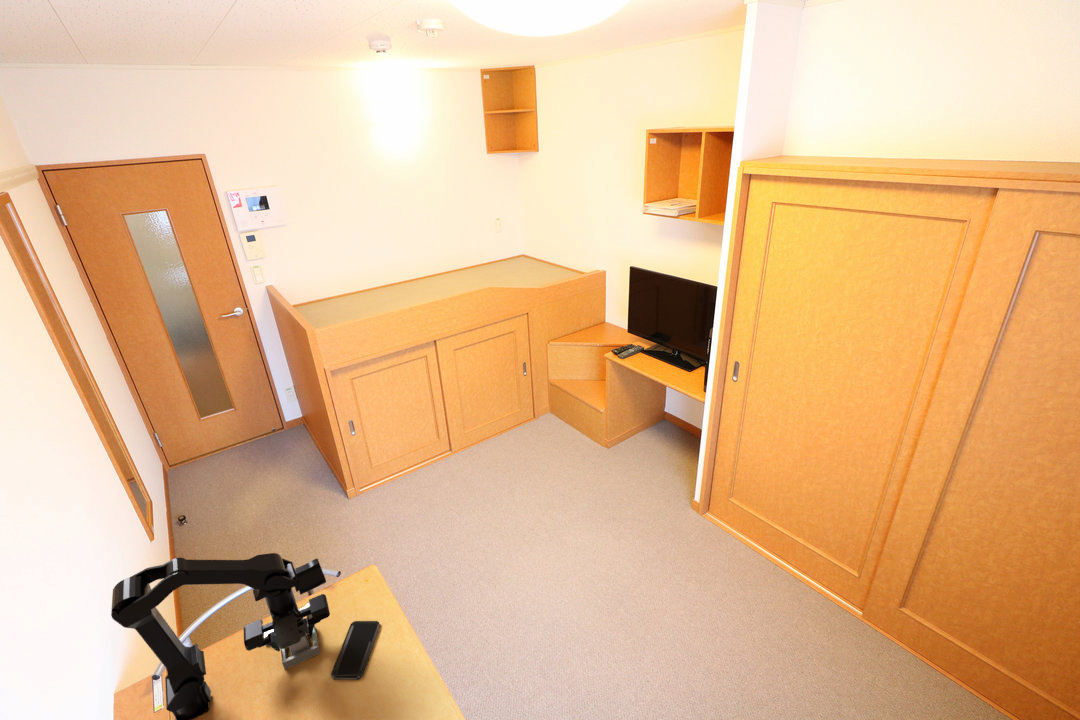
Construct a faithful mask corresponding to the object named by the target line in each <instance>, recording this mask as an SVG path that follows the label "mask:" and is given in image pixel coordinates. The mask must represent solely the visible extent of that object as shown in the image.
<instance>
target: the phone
mask: <svg viewBox="0 0 1080 720" xmlns="http://www.w3.org/2000/svg"><path fill="white" fill-rule="evenodd" d="M380 627H381V624H380V622H379V621H377V620H354V621H353V622H351V623H350V625H349V628H348V630H347V633H346V635H345V638H344V640H343V643H342V645H341V647H340V650H339V653H338V656H337V658H336V660H335V663H334V665H333V669H332V670H331V674H330V676H331V679H333V680H335V681H337V680H339V681H340V680H341V681H342V680H343V681H345V680H346V681H347V680H348V681H349V680H351V681H354V680H355V681H359V680H361V679H362V678H363V677H364V675H365V672H366V669H367V667H368V665H369V664H368V663H369V661H370V656H371V653H372V650H373V648H374V646H375V645H374V644H375V642H376V640H377V636H378V633H379V630H380Z"/></svg>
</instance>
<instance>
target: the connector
mask: <svg viewBox="0 0 1080 720" xmlns="http://www.w3.org/2000/svg"><path fill="white" fill-rule="evenodd" d="M309 642H310V641H309V635H308V634H306V633H305V636H304V637H302V638H301V640H300V641H299V642H298V643H296V644H293V645H291V646H289V647H288V649H289V652H290V654H291V656H293V655H295V654H298V653H300V652H302V651H304V650H306V649H308V648H311V647H310V643H309Z"/></svg>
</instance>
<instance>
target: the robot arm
mask: <svg viewBox="0 0 1080 720" xmlns="http://www.w3.org/2000/svg"><path fill="white" fill-rule="evenodd" d="M157 580H160V581H159V582H157V584H156V585H154V587H153V588H152V587H151V584H152V583H153V582H156V581H157ZM326 583H327V580H326V577H325V574H324V571H323V568H322V567H321V564H320V561H319V558H315V559H312V560H311V561H309V562H307V563H305V564H302V565H301V566H298V567H296V568H295V566H294V563H293V561H290V560H288V559H285V558H283V557H281V555H280V554H278V553H276V552H271V553H270V552H269V553H264V554H257V555H254V556H253V557H251V558H249V559H247V558H246V559H186V558H184V557H175V558H173V559H171V560H169V561H167V562H165V563H163V564H159V565H154V566H149V567H146V568H144V569H143V570H141V571H139V572H137V573H135V574H133V575H132V576H130V577H127V578H124V579H122V580H120V581H119V582H117V584H115V586H114V587H113V589H112V596H111V597H112V598H111V612H110V613H111V614H110V615H111V619H112V620H114V621H115V622H116V623H117V624H119V625H120V626H122V627H123V628H126V629H132V630H133V629H134V630H135V631H136V632H137V634H138V635H139V636H140V637H141V638H142V639H143V641H144V642H145V643H146V645H147V646H148V647H149V649H150V650H151V651H152V652H153V654H154V655H155V657H156V658H157V659H159V662H161V664H162V666H164V667H165V669H166V672H167V674H166V676H165V678H164V681H165V682H164V683H165V685H164V686H165V701H166V702H165V705H166V706H165V708H166V711H169V713H170V712H171V713H172V715H173V716H174V718H175V720H194V719H196V718H198V717H201V716H202V715H205V714H206V713H208V712H209V710H210V702H211V700H212V699H211V696H212V691H211V689H210V685H209V686H208V683H207V682H206V681H205V675H207V670H206V663H205V662H206V661H205V659H206V658H205V652H204V651H203V650H201V649H200V648H199V645H198V644H197V643H194V644H192V646H186V645H184V644H183V643H182V641H181V640H180V638H179V637H178V635H177V634H176V633H175V631H174V630H173V628H171V626H170V624H169V623H168V622H167V621H166V619H165V618H164V617H163V615H162V614H161V613H160V611H159V610H158V608H157V607H158V606H159V605H160V604H161V603H162V602H163V601H164V600H165V599H166V598H168V597H169V596H170V595H171V594H172V593H173V592H174V591H175V590H177V589H178V588H181V587H182V586H194V585H195V586H197V585H203V586H205V585H206V586H207V585H237V584H238V585H244V586H246V587H249V588H251V589H252V593H253V597H254V601H255V602H259V601H261V600H263V599H265V602H266V603H265V604H266V606H267V607H268V610H269V613H270V616H271V619H272V622H268V623H266V624H264V622H263V618H259V619H258V620H255V621H253V622H250V623H248V624H246V625H244V627H243V644H244V647H245V650H246V651H249V652H250V651H252V650H254V649H256V648H259V649H260V648H262V647H265V646H269V647H270V648H272V649H274V650H275V651H277V652H281V649H285V648H286V649H287V648H289V646H291V645H293V644H296V643H298V642H299V641H300V640H301V638H302V637H304V636H305V633H306V632H309V633H308V638H309V639H311V638H312V633H313V628H314V625H316V624H319V623H321V622H322V621H323V620H325V619H328V618H329V617H330V615H331V613H330V606H329V603H328V602H329V601H328V599H327V596H326V594H324V593H321V594H319V595H317V596H314V597H312V598H309V599H308V602H307V603H306V604H305V606H303V607H301V608H298V604H297V602H296V598H295V594H294V592H293V588H294V590H295V592H296V593H298V592H299V595H303V594H306V593H307V592H310V591H312V590H314V589H315V588H318V587H320V586H322V585H324V584H326ZM305 617H306V618H307V620H306V618H305ZM302 618H303V619H302ZM274 633H275V634H274Z"/></svg>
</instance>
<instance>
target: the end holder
mask: <svg viewBox="0 0 1080 720" xmlns="http://www.w3.org/2000/svg"><path fill="white" fill-rule="evenodd" d="M315 625H316V624H315ZM315 625H314V628H313V633H312V637H311V638H312V642H313V646H311V647H310V648H308V649H306V650H304V651H302V652H300V653H298V654H295V655H293V656H292V655H291V656H289V657H288V653H287V648H285V649H280V655H281V664H282V666H283V668H284V670H286V671H287V669H290V668H292V667H294V666H296V665H298V664H300V663H303V662H305V661H306V660H309V659H311V658H312V657H315V656H318V655H319V654H321V651H320V646H319V640H318V636H317V629H316V626H315ZM306 634H307V635H309V632H306Z"/></svg>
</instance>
